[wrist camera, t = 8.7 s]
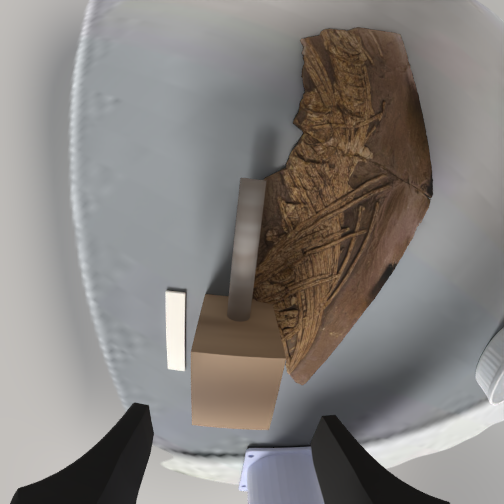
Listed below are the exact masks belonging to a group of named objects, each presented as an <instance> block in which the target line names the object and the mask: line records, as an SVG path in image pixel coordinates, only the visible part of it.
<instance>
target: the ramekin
mask: <svg viewBox="0 0 504 504" xmlns="http://www.w3.org/2000/svg"><path fill="white" fill-rule="evenodd" d="M476 380H477V382H478V384H479V385H480V387H481V388H482V389H483V391H484V392H485V394H486V395H487V397H488V399H489V402H490V403H491V404H492V405H498V404H500V403H502V402H504V327H503V328H502V329H501V330H500V331H499V332H498V333H497V334H496V335H495V336H494V337H493V338H492V340H491V341H490V342H489V344H488V345H487V347H486V348H485V350H484V352H483V354H482V355H481V358H480V360H479V362H478V365H477V368H476Z"/></svg>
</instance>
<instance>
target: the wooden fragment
mask: <svg viewBox="0 0 504 504" xmlns="http://www.w3.org/2000/svg"><path fill="white" fill-rule="evenodd" d="M300 42H301V43H302V45H303V51H302V55H303V59H304V65H303V68H302V76H301V77H303V85H304V88H305V93H304V94H303V99H302V100H301V102H300V107H299V111H298V113H297V115H296V117H295V118H294V121H293V124H294V125H296V126H297V127H298V128H300V129H301V130H302V131H303V135H302V137H301V138H300V139H299V141H298V143H297V145H296V146H295V147H294V149H293V150H292V152H291V154H290V156H289V160H288V161H287V163H286V165H287V166H286V168H283V169H281V170H280V171H278V172H276V173H274V174H272V175H270V176H268V177H265V179H264V180H265V181H266V188H265V197H264V205H263V214H262V222H261V230H260V239H259V247H258V255H257V263H256V272H255V280H254V288H253V296H252V298H253V299H255V300H256V301H258V302H262V303H267V304H273V308H274V312H275V316H276V321H277V325H278V329H279V333H280V337H281V341H282V345H283V349H284V353H285V357H286V364H285V365H286V368H287V372H288V374H290V375H291V377H292V378H293V379H294V381H295V382H296V383H299V384H301V385H304V384H305V383H306V382H307V381H308V380H309V379H310V377H311V376H312V375H313V374H314V373H315V372H316V370H317V369H318V368H319V367H320V366H321V365H322V364H323V363H324V362H325V361H326V360H327V358H328V357H329V356H330V355H331V353H332V352H333V351H334V350H335V349H336V347H337V346H338V345H339V344H340V342H341V341H342V340H343V338H344V337H345V336H346V334H347V333H348V332H349V331H350V329H351V328H352V327H353V325H354V324H355V323H356V322H357V320H358V319H359V318H360V316H361V315H362V313H363V312H364V311H365V310H366V308H367V307H368V306H369V305H370V304H371V302H372V301H373V300H374V299H375V297H376V296H377V294H378V293H379V291H380V290H381V288H382V286H383V285H384V284H385V282H386V281H387V280H388V278H389V276H390V275H391V274H392V272H393V270H394V269H395V267H396V266H397V264H398V262H399V260H400V259H401V257H402V256H403V254H404V252H405V250H406V248H407V246H408V245H409V243H410V241H411V240H412V238H413V236H414V233H415V231H416V227H417V226H419V223H421V222H422V219H423V217H424V215H425V213H426V211H427V210H428V208H429V204H430V199H429V198H427V196H428V197H430V198H431V197H432V195H433V185H432V183H433V179H432V167H431V161H430V153H429V146H428V140H427V136H426V129H425V125H424V119H423V114H422V110H421V106H420V101H419V96H418V93H417V89H416V85H415V82H414V80H413V79H414V78H413V74H412V71H411V70H410V64H409V62H408V56H407V53H406V50H405V47H404V43H403V41H402V38H401V35H400V34H397V33H392V32H385V31H379V30H371V29H366V28H359V27H357V28H353V29H351V30H349V31H346V30H336V29H325V30H323V31H322V32H321V33H320V35H318V36H313V37H307V38H304V39H301V40H300ZM424 193H425V194H426V195H427V196H425V195H424Z"/></svg>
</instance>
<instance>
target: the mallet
mask: <svg viewBox="0 0 504 504" xmlns="http://www.w3.org/2000/svg"><path fill="white" fill-rule="evenodd" d="M265 188H266V181H265V180H257V179H248V178H240V188H239V197H238V206H237V216H236V226H235V235H234V246H233V256H232V266H231V277H230V288H229V296H220V295H210V294H205V297H204V301H203V305H202V309H201V313H200V317H199V321H198V325H197V329H196V333H195V337H194V341H193V345H192V350H191V403H192V425H198V426H207V427H218V428H232V429H255V430H269V427H270V423H271V420H272V416H273V412H274V408H275V404H276V399H277V395H278V391H279V387H280V383H281V378H282V374H283V370H284V365H285V361H286V357H285V353H284V349H283V345H282V341H281V337H280V333H279V329H278V325H277V321H276V316H275V312H274V308H273V304H267V303H262V302H258V301H256V300H255V299H253V298H252V296H253V288H254V280H255V272H256V263H257V255H258V247H259V239H260V230H261V222H262V214H263V205H264V197H265Z"/></svg>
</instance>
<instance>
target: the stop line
mask: <svg viewBox="0 0 504 504" xmlns="http://www.w3.org/2000/svg"><path fill="white" fill-rule="evenodd" d="M185 295H186V293H185V292H176V291H168V290H166V337H167V359H168V369H173V370H180V371H185Z"/></svg>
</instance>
